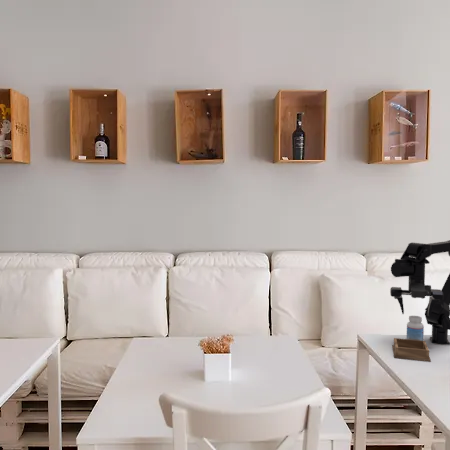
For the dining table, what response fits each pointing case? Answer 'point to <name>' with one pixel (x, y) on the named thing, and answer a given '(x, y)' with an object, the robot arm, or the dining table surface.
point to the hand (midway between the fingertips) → (415, 314)
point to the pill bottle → (415, 328)
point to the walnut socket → (411, 350)
